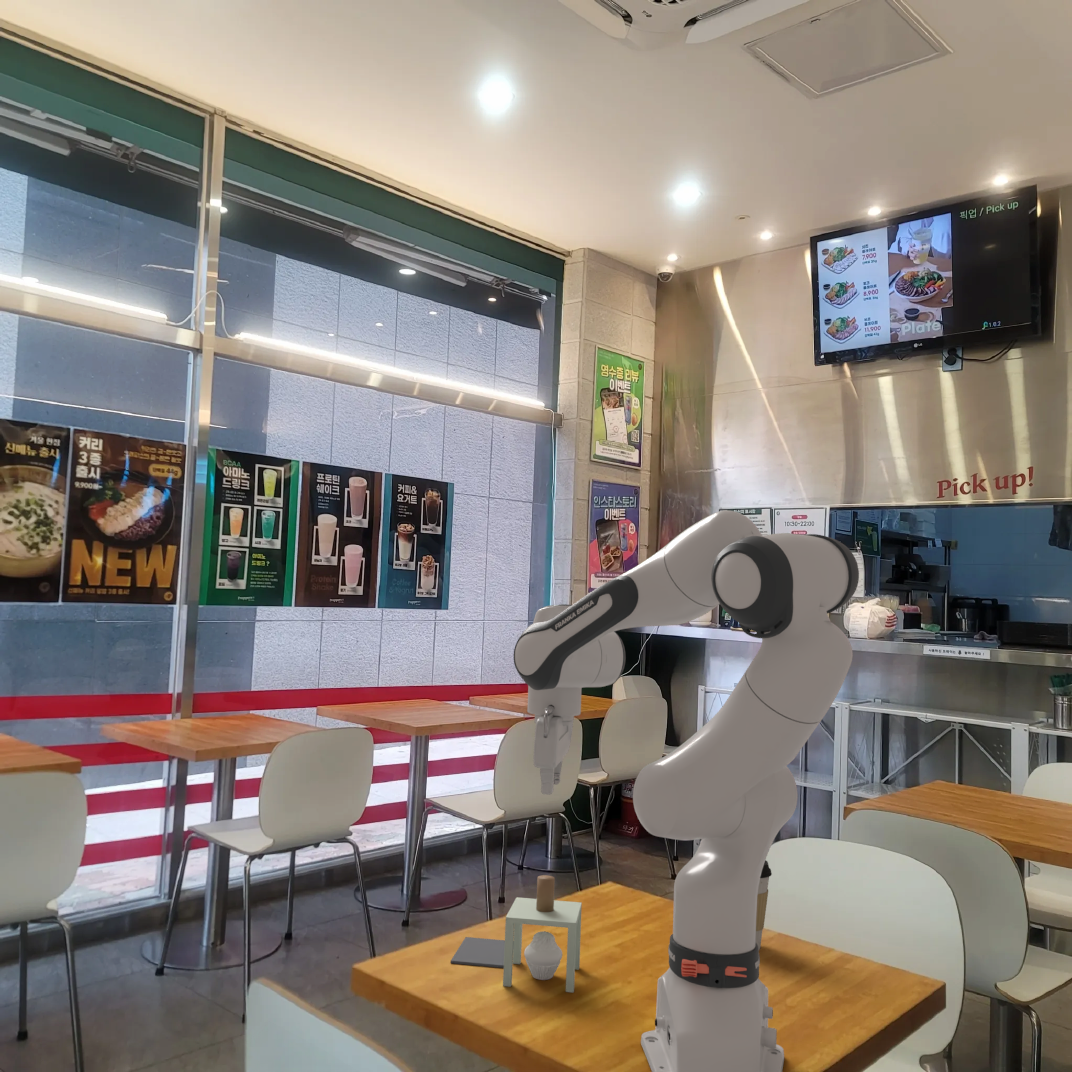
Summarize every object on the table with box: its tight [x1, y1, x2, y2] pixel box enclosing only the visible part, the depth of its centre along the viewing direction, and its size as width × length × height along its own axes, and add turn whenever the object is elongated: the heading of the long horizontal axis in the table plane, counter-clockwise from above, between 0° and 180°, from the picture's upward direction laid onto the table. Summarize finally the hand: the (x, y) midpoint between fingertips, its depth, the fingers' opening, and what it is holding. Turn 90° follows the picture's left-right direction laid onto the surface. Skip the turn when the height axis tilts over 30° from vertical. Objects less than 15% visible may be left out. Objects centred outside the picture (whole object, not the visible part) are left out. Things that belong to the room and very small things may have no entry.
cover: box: [502, 874, 583, 993], centre depth 148 cm, size 11×11×15 cm
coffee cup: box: [756, 859, 773, 951], centre depth 166 cm, size 10×10×15 cm
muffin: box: [523, 931, 563, 981], centre depth 148 cm, size 6×6×7 cm
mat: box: [450, 936, 514, 969], centre depth 157 cm, size 12×9×1 cm
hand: (550, 788), depth 150 cm, fingers open, 8 cm apart
